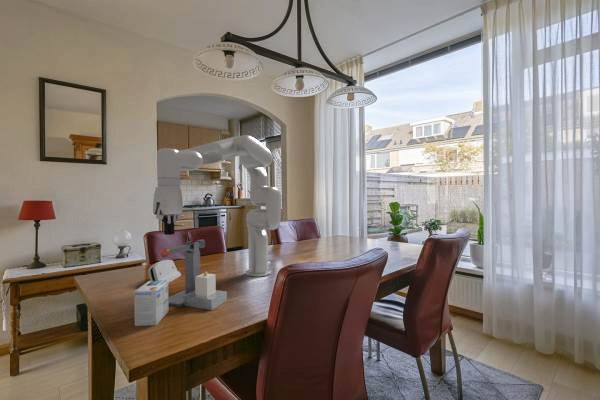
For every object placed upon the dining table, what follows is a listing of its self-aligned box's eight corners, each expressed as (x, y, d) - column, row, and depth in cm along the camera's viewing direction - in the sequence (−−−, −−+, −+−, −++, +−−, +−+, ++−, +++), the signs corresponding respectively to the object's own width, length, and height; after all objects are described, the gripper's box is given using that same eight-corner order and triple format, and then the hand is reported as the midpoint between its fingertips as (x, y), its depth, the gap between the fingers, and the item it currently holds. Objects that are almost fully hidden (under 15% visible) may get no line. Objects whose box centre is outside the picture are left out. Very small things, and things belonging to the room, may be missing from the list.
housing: (204, 290, 111) (204, 269, 111) (215, 291, 110) (215, 271, 110) (195, 294, 107) (195, 273, 107) (207, 296, 105) (207, 274, 105)
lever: (199, 246, 127) (199, 239, 127) (206, 247, 126) (206, 239, 125) (157, 258, 105) (157, 248, 105) (164, 258, 104) (164, 249, 104)
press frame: (192, 289, 124) (191, 240, 123) (236, 295, 117) (236, 243, 116) (159, 303, 108) (159, 248, 107) (208, 311, 101) (208, 252, 100)
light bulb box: (148, 312, 100) (148, 280, 100) (169, 311, 101) (169, 279, 101) (133, 326, 90) (133, 290, 89) (157, 325, 90) (156, 290, 90)
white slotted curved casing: (162, 286, 128) (154, 264, 128) (152, 289, 128) (144, 267, 128) (181, 275, 144) (174, 255, 145) (173, 278, 145) (166, 258, 145)
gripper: (175, 184, 116) (176, 231, 117) (143, 182, 102) (144, 236, 103) (191, 184, 114) (191, 232, 114) (160, 182, 100) (161, 237, 100)
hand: (169, 234), depth 108 cm, fingers closed
